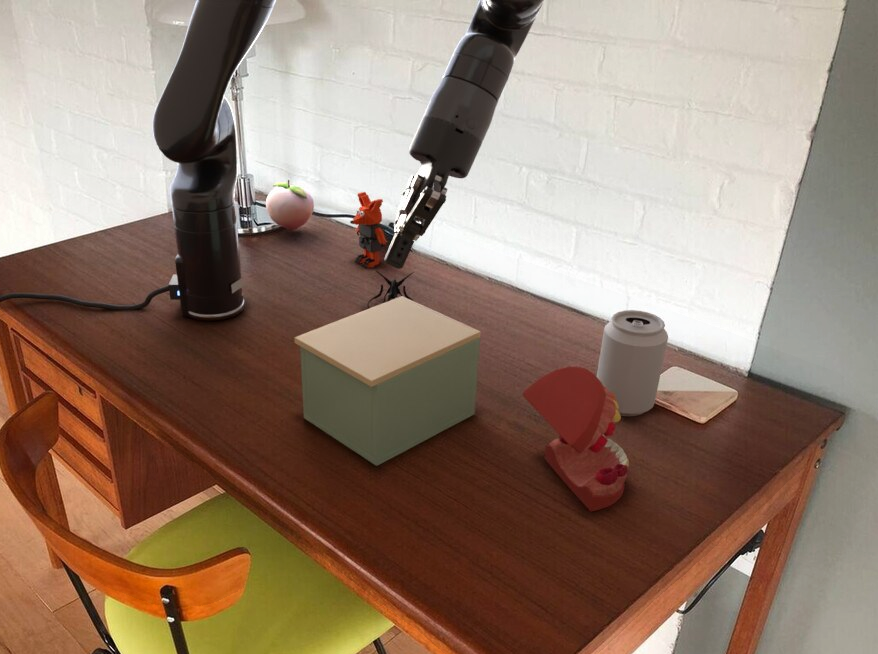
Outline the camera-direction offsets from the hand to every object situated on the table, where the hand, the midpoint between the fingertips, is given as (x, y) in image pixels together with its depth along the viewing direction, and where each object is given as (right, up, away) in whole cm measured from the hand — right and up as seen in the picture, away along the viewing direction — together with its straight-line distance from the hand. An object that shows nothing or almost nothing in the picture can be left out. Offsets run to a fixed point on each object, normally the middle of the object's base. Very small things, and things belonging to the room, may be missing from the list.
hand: (392, 265), depth 98 cm
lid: (0, -9, 0) cm, 9 cm away
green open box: (0, -18, +6) cm, 19 cm away
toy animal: (-3, +7, +49) cm, 49 cm away
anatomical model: (+20, -25, -6) cm, 33 cm away
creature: (+1, -2, +33) cm, 34 cm away
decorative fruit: (-18, +16, +63) cm, 68 cm away
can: (+30, -17, +8) cm, 35 cm away
